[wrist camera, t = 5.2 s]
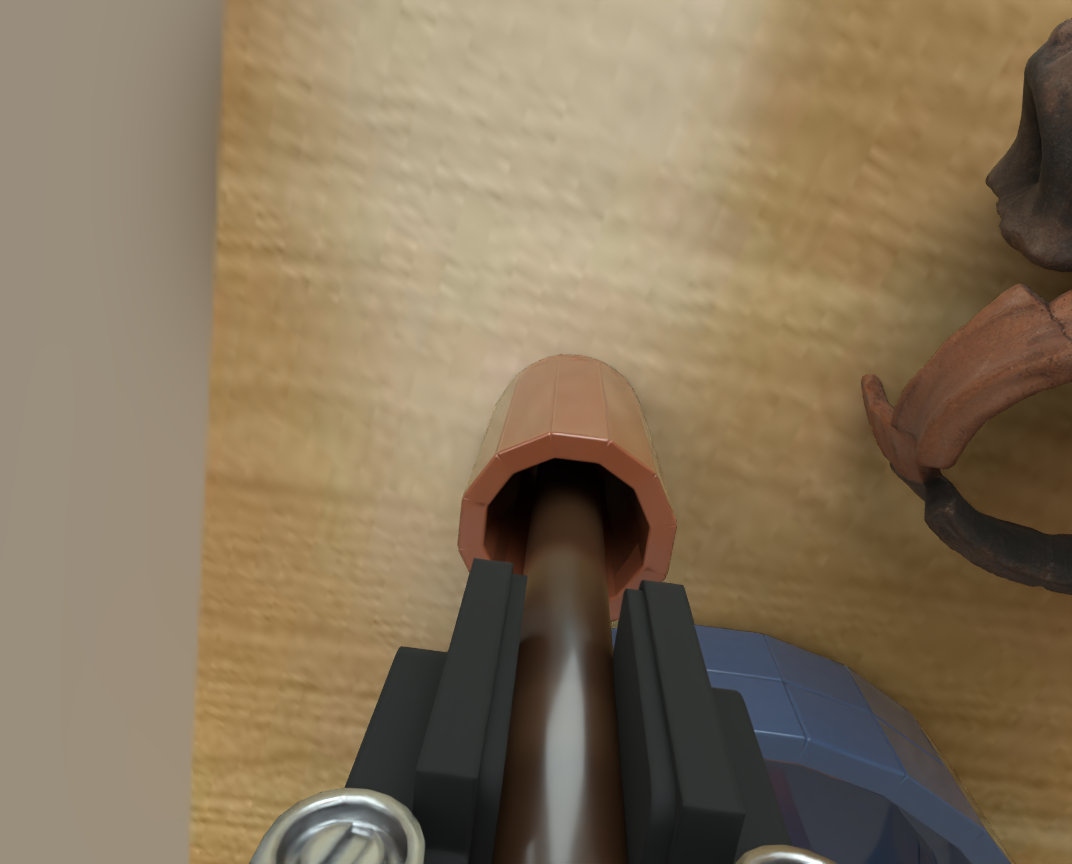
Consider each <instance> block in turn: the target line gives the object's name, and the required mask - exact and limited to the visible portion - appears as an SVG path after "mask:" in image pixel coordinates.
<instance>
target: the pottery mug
mask: <svg viewBox="0 0 1072 864" xmlns="http://www.w3.org/2000/svg"><path fill="white" fill-rule="evenodd" d="M986 184H987V185H988V186H989V187H990V188H991V189H992V191H993V192H994V193H995V195H996V196H997V197H998V198H999V201H998V202H997V203H996V206H997V212H998V214H999V215H1000V217H1001V222H1000V223H999V227H1000V230H1001V234H1002V236H1003V238H1004V239H1005V241H1006V242H1007V243H1008V244H1009V245H1010V246H1011V247H1013V248H1014V249H1016V250H1018V251H1020V252H1021V253H1022V254H1023V255H1024V256H1025V257H1026V258H1027V259H1028V260H1030V261H1031V262H1033V263H1035V264H1037V265H1039V266H1041V267H1043V268H1045V269H1051V270H1056V271H1061V272H1071V271H1072V18H1071V19H1068V20H1066V21H1064V22H1062V23H1061V24H1059V25H1058V26H1057V27H1056V28H1055V29H1054V30H1053V32H1052V33H1051V35H1050V37H1049V39H1048V41H1047V42H1046V43H1045V44H1044V45H1043V46H1042V47H1041V48H1039V49H1038V50H1037V51H1036V52H1035V53H1034V54H1033V55H1032V56H1031V57H1030V59H1029V60H1028V62H1027V64H1026V67H1025V72H1024V87H1023V102H1022V115H1021V121H1020V126H1019V130H1018V135H1017V137H1016V139H1015V141H1014V143H1013V144H1012V146H1011V147H1010V149H1009V150H1008V151H1007V153H1006V154H1005V156H1004V157H1003V158H1002V159H1001V160H1000V161H999V162H998V164H997V165H996V166H995V167H994V168H993V170H992V171H991V172H990V173H989V174H988V176H987V178H986ZM1071 381H1072V289H1071V290H1069V291H1067V292H1066V293H1064V294H1062V295H1060V296H1059V297H1058V298H1056V299H1054V300H1052V301H1051V302H1049V301H1045V300H1043V299H1042V298H1041V296H1038V295H1036V294H1034V292H1033V291H1032V290H1031V289H1030V288H1029V287H1027V286H1025V285H1023V284H1020V283H1019V284H1016V285H1014V286H1013V287H1011V288H1009V289H1007V290H1006V291H1004V292H1003V293H1002V294H1001V295H999V296H998V297H997V298H996V299H995V300H994V301H993V302H992V303H990V304H989V305H987V306H986V307H985V308H984V309H983V310H982V311H980V312H979V313H978V314H977V315H975V316H974V317H973V318H972V319H971V320H970V321H969V322H968V323H967V324H966V325H964V326H963V327H961V328H960V329H958V330H957V331H956V332H955V333H953V334H952V335H951V336H949V337H948V338H947V339H946V340H945V341H944V343H943V344H942V345H941V346H940V348H939V349H938V350H937V352H936V353H935V354H934V355H933V356H932V358H931V359H930V360H929V361H928V362H927V363H926V364H925V365H924V367H923V368H921V369H920V370H919V371H918V372H917V373H916V375H915V376H914V377H913V378H912V379H911V380H910V381H909V383H908V384H907V386H906V387H905V389H904V390H903V391H902V393H901V395H900V397H899V399H898V402H897V404H896V406H895V408H892V406H891V405H890V404H889V403H888V400H887V398H886V396H885V393H884V390H883V385H882V383H881V381H880V380H879V378H878V377H877V376H876V375H874V374H869V375H865V376H863V377H862V379H861V386H862V392H863V399H864V405H865V409H866V413H867V417H868V420H869V423H870V425H871V427H872V430H873V434H874V436H875V439H876V442H877V444H878V446H879V448H880V450H881V452H882V453H883V455H884V456H885V457H886V458H887V459H888V460H889V461H890V467H891V469H892V470H893V471H894V472H895V474H896V475H897V476H898V477H899V478H900V479H902V480H903V481H904V482H905V483H906V484H907V485H908V486H909V487H910V488H911V489H912V490H913V491H914V492H915V493H916V494H917V495H918V496H919V497H920V498H921V499H922V500H924V501H925V522H926V523H927V525H928V527H929V528H930V529H931V530H932V531H933V532H934V533H935V534H936V535H937V536H938V537H939V538H940V540H942V541H943V542H944V543H945V544H946V545H947V546H949V547H950V548H951V549H952V550H955V551H956V552H958V553H959V554H961V555H962V556H963V557H965V558H966V559H967V560H968V561H970V562H971V563H973V564H974V565H976V566H979V567H980V568H982V569H984V570H986V571H988V572H990V573H993V574H995V575H996V576H999V577H1002V578H1005V579H1008V580H1010V581H1014V582H1018V583H1022V584H1025V585H1028V586H1041V587H1044V588H1045V589H1047V590H1050V591H1053V592H1058V593H1064V594H1069V595H1072V534H1057V535H1051V534H1045V533H1042V532H1039V531H1037V530H1035V529H1033V528H1030V527H1026V526H1022V525H1019V524H1016V523H1012V522H1008V521H1004V520H1001V519H997V518H994V517H991V516H988V515H985V514H982V513H980V512H978V511H977V510H975V509H974V508H973V507H972V506H971V505H970V504H969V503H968V502H967V501H966V500H965V499H964V498H963V497H962V496H961V494H960V493H959V492H958V491H957V489H956V488H955V487H954V485H953V484H952V483H951V482H950V481H949V480H948V479H947V478H946V477H944V476H943V475H942V474H941V471H940V469H948V468H950V467H952V466H954V464H955V463H956V461H957V459H958V457H959V455H960V454H961V453H962V451H963V450H964V448H965V447H966V445H967V444H968V442H969V441H970V440H971V439H972V437H973V436H974V435H975V434H976V432H977V431H978V430H979V429H980V428H981V427H982V426H983V425H984V424H985V423H986V422H987V421H988V420H990V419H991V418H993V417H994V416H996V415H997V414H999V413H1000V412H1002V411H1004V410H1005V409H1007V408H1009V407H1011V406H1012V405H1014V404H1016V403H1017V402H1019V401H1021V400H1023V399H1026V398H1028V397H1030V396H1033V395H1035V394H1037V393H1040V392H1042V391H1045V390H1049V389H1052V388H1054V387H1057V386H1060V385H1062V384H1065V383H1068V382H1071Z"/></svg>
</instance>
